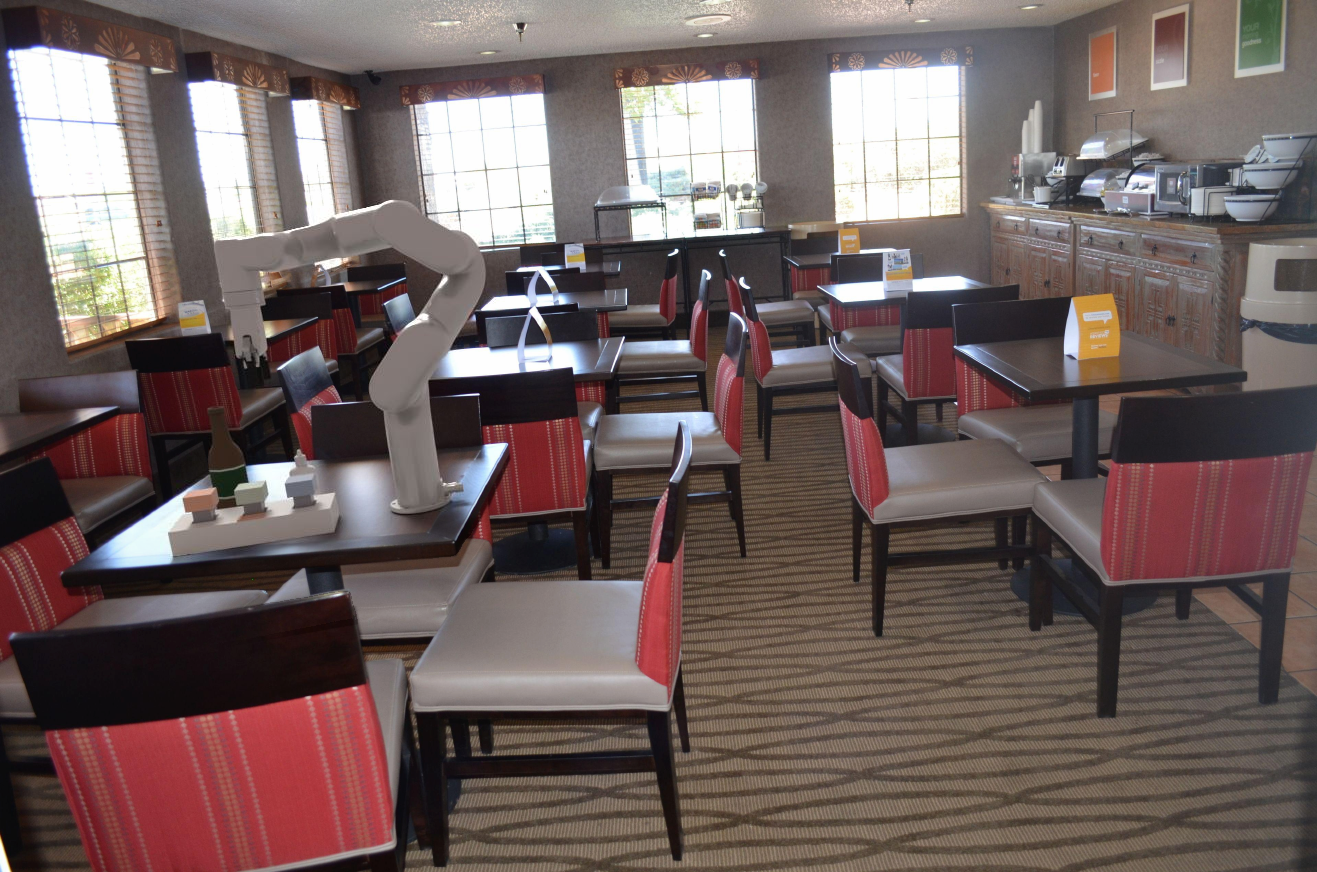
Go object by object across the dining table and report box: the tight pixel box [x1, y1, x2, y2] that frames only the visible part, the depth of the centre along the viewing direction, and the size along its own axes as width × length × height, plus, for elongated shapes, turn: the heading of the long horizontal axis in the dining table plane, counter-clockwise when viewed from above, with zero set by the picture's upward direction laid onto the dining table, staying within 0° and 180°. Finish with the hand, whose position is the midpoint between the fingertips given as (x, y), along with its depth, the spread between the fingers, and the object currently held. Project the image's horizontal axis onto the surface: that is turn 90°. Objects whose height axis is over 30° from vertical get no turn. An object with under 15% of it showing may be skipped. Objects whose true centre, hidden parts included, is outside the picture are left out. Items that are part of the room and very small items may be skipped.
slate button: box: [284, 473, 317, 509], centre depth 194 cm, size 5×5×8 cm
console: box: [167, 492, 340, 557], centre depth 193 cm, size 30×12×5 cm, turn 103°
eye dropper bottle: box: [288, 449, 321, 496], centre depth 213 cm, size 4×6×12 cm
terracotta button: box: [182, 487, 219, 524], centre depth 190 cm, size 5×5×8 cm
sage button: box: [234, 480, 269, 515], centre depth 192 cm, size 5×5×8 cm
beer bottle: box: [206, 405, 250, 510], centre depth 208 cm, size 8×8×24 cm
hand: (259, 383), depth 195 cm, fingers open, 9 cm apart
